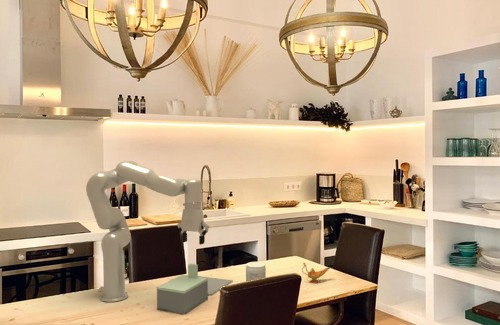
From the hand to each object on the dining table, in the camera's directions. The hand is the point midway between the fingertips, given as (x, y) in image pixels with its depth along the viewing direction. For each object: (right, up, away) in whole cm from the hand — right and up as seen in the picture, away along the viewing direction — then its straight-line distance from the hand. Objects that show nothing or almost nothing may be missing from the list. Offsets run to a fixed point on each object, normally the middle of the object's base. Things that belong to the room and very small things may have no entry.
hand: (193, 242), depth 194 cm
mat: (+2, -26, +21) cm, 34 cm away
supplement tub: (+29, -26, +7) cm, 40 cm away
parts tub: (-4, -27, -5) cm, 27 cm away
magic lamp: (+62, -26, +27) cm, 72 cm away
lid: (-4, -18, -6) cm, 19 cm away
